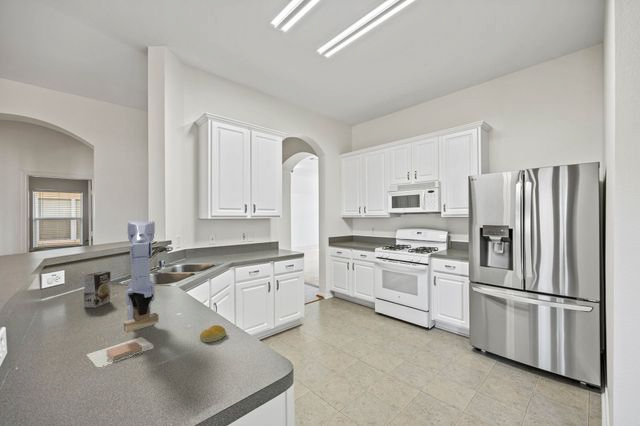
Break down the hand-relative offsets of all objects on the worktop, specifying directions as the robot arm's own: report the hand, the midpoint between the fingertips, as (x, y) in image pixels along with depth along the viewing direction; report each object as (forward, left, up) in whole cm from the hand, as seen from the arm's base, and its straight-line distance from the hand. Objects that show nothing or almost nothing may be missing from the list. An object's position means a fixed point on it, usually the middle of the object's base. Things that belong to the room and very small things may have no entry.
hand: (140, 313), depth 97 cm
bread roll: (+18, +18, -11) cm, 27 cm away
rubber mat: (+3, -6, -10) cm, 12 cm away
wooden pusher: (0, 0, -5) cm, 5 cm away
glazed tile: (+2, -6, -9) cm, 11 cm away
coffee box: (-63, +3, -11) cm, 64 cm away
